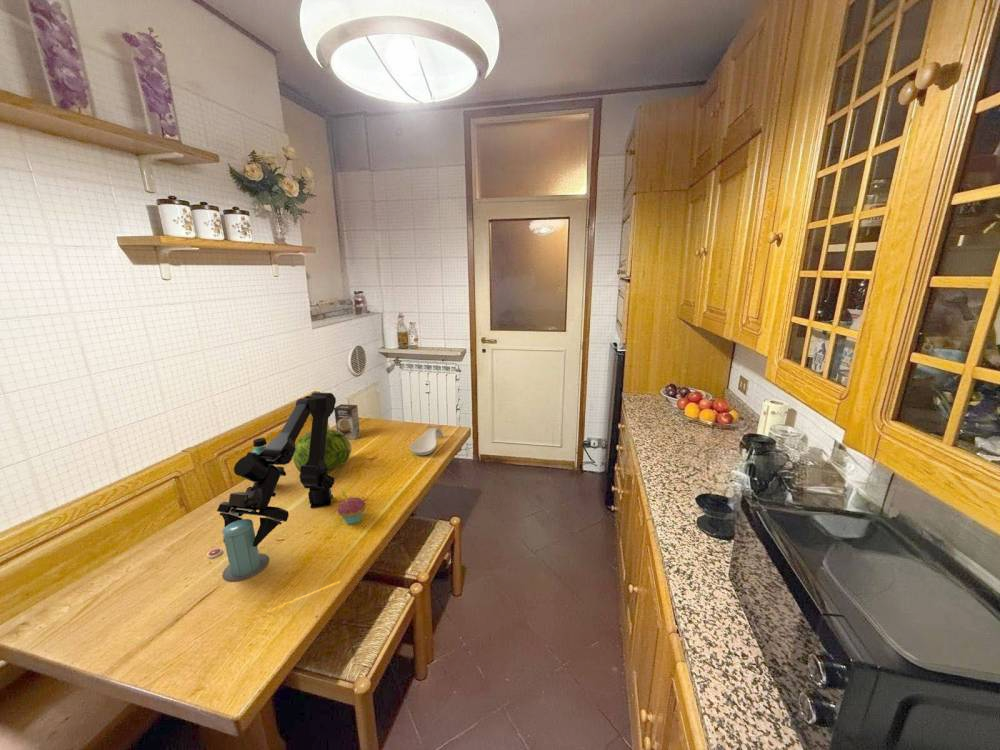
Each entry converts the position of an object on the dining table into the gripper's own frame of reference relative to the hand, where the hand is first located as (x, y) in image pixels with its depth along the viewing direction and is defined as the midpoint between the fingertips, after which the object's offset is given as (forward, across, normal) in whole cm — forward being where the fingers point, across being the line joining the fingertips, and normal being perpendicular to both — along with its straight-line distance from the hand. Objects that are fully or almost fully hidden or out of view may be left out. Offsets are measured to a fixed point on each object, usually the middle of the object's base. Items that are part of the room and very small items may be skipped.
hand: (239, 544), depth 107 cm
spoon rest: (-54, +20, +65) cm, 86 cm away
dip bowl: (+3, -14, +8) cm, 16 cm away
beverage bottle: (-22, -27, +33) cm, 48 cm away
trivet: (+5, 0, +6) cm, 8 cm away
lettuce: (-35, -14, +46) cm, 59 cm away
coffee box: (-58, -24, +68) cm, 92 cm away
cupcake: (-13, +17, +24) cm, 32 cm away
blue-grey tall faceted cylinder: (+5, 0, +6) cm, 8 cm away
